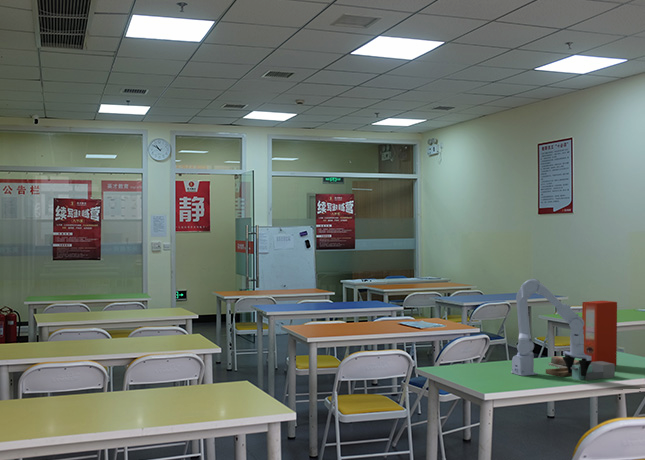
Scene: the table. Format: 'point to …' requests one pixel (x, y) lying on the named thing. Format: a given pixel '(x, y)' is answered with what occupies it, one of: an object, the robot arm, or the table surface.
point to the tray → (558, 372)
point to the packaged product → (560, 362)
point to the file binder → (600, 330)
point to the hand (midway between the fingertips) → (577, 374)
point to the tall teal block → (579, 372)
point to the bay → (601, 370)
